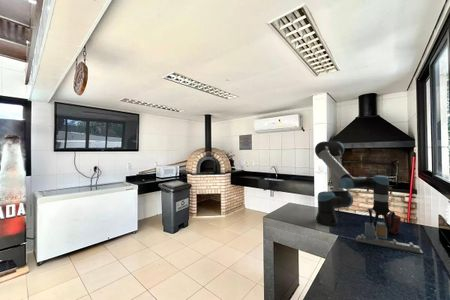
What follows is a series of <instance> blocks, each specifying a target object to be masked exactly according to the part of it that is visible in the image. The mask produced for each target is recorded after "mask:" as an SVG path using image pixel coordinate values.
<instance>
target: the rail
mask: <svg viewBox="0 0 450 300" xmlns="http://www.w3.org/2000/svg"><path fill="white" fill-rule="evenodd" d="M364 232H365V233H361V235H359V234H357V236H355V242H357V243H361V244H362V243H363V244H368V245H372V246H373V245H374V246H379V247H384V248H389V249H396V250H399V251H405V252H409V253H410V252H411V253H416V254H422V255H424V252H423V250H422V249H421V247H420V246H419V245H418V244H417V245H416V244H414V243H413V242H408V243H405V242H404V243H403V242H398V241H397V240H396V239H392V240H387V239H380V238H378V237H376V236H375V226H374V224H373V222H372V223H370V222H367V221H365V222H364ZM364 234H365V235H364Z"/></svg>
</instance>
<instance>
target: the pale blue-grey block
mask: <svg viewBox="0 0 450 300" xmlns="http://www.w3.org/2000/svg"><path fill="white" fill-rule="evenodd" d="M376 225H377V237H378V239H382V240H387V239H386V224H385V222H383V221H382V222H380V221H377V224H376Z"/></svg>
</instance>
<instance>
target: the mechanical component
mask: <svg viewBox="0 0 450 300" xmlns="http://www.w3.org/2000/svg"><path fill="white" fill-rule="evenodd" d="M386 216H387V220H388V224H389V225H390V212H389V213H388V214H387V215H386ZM382 223H385V220H384V218H382ZM401 226H403V221H402V220H401V216H399V215H397V214H396V213H395V215H394V221H393V228H390V229H389V233H391V234H394V235H397V234H398V233H400V232H401V231H400V227H401Z"/></svg>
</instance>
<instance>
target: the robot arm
mask: <svg viewBox="0 0 450 300" xmlns="http://www.w3.org/2000/svg"><path fill="white" fill-rule="evenodd" d="M344 152H345V146H344V144H343V143H342V142H341V141H336V140H333V141H332V140H331V141H321V142H318V143H316V146H315V148H314V154H315V155H316V156H317V158H318V159H320V160H322V162H324V164H325V165H326V166H327V167H328V168H329V169H330V176H331V183H332V190H331V191H329V190H328V191H327V190H326V191H325V190H324V191H320V192H318V194H317V213H316V216H315V222H316V221H317V222H318V223H317V222H316V223H317V224H319V223H320V225H322V224H323V226H328V225H329V226H331V225H334V226H337V225H338V219H337V216H336V212H335V210H336V209H342V208H343V209H344V208H345V209H346V208H350V207H352V205H353V203H354V196H353V195H352V193H350V192H349V190H353V189H355V190H357V189H370V190H372V191H373V196H372V197H373V202H372V203H373V204H372V205H373V206H372V208H367V211H368V214H369V223H373V224H374V226H375V236H374V237H375V238H376V237H377V222H378V219H379V217H380V216H383V219H384V220H385V222H384V223H385V225H386V239H385V240H387V239H388V234H389V233H390V232H389V229H390V228H393V221H394V215H395V214H396V213H395V212H396V211H393V210H390V204H389V203H390V202H389V201H390V200H389V197H390V196H389V191H390V189H389V187H390V181H389V177H388V176H387V175H378V174H377V175H373V177H372V176H371V177H370V176H366V175H358V176H355V177H354V176H352V175H351V174H350V172H348V170H347V169H346V168H345V167H344V166H343V165H342V161H341V158H342V157H343V155H344ZM373 211H374V213H375V215H374V220H373ZM389 213H390V225H389V224H388V220H387V216H386V215H387V214H389Z"/></svg>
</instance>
